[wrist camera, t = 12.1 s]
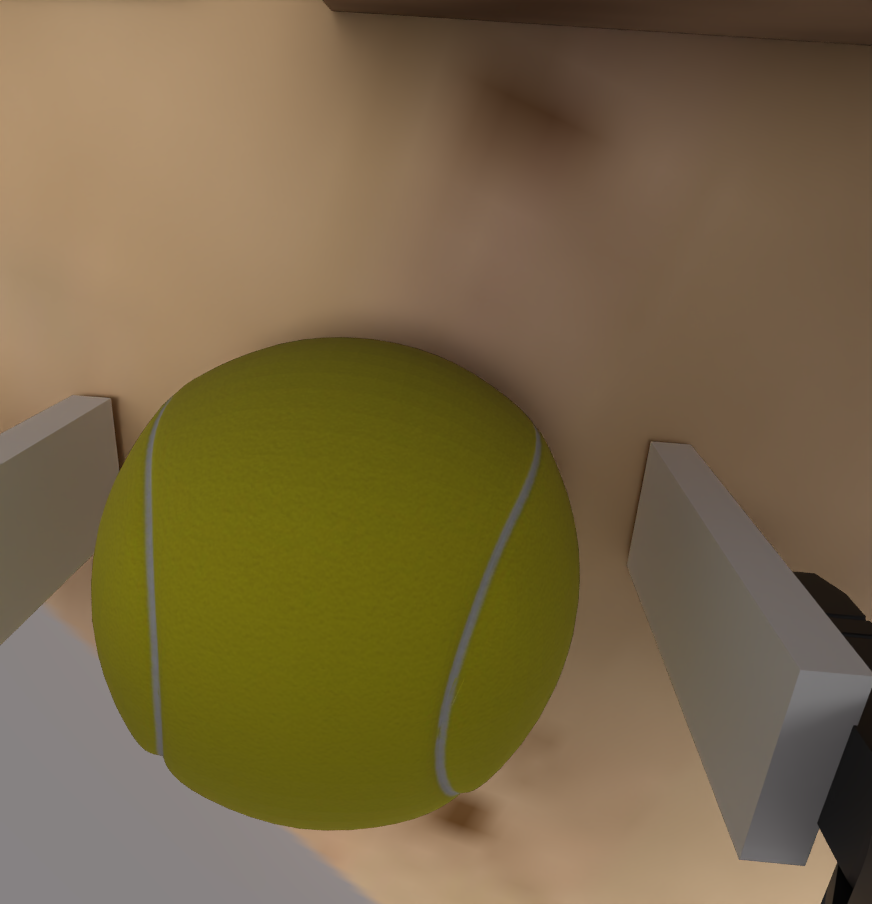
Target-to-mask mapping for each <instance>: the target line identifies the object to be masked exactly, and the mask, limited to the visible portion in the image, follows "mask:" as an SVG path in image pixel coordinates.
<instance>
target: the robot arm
mask: <svg viewBox="0 0 872 904" xmlns="http://www.w3.org/2000/svg"><path fill="white" fill-rule="evenodd" d="M118 473H119V464H118V455H117V446H116V438H115V429H114V420H113V412H112V403H111V398H103V397H91V396H78V395H72V396H70V397H68V398H66V399H64V400H62V401H61V402H59V403H57V404H55V405H53V406H51V407H49V408H48V409H46V410H44V411H42V412H40V413H38V414H36V415H35V416H33V417H31V418H29V419H27V420H25V421H23V422H22V423H20V424H18V425H16V426H14V427H12V428H10V429H8V430H7V431H5V432H3V433H1V434H0V645H1V644H2V643H3V642H4V641H5V640H6V639H7V638H8V637H9V636H10V635H11V634H12V633H13V632H14V631H15V630H16V629H18V627H19V626H21V625H22V624H23V623H24V622H25V620H27V619H28V618H29V617H30V616H31V615H32V614H33V613H34V612H35V611H36V610H37V609H38V608H39V607H40V606H41V605H42V604H43V603H44V602H45V601H46V600H47V599H48V598H49V597H50V596H51V595H52V594H53V593H54V592H55V591H56V590H57V589H58V588H59V587H60V586H61V585H62V584H63V583H64V582H65V581H66V580H68V579H69V578H70V577H71V576H72V575H73V574H74V573H75V572H76V571H77V570H78V569H79V568H80V567H81V566H82V565H83V564H84V563H85V562H86V561H87V560H88V559H89V558H90V557H91V556H92V555H93V554H94V551H95V545H96V539H97V533H98V528H99V524H100V521H101V517H102V514H103V510H104V507H105V504H106V502H107V499H108V496H109V494H110V491H111V489H112V486H113V484H114V482H115V479H116V477H117V475H118ZM627 568H628V570H629V573H630V575H631V578H632V581H633V583H634V586H635V589H636V591H637V594H638V596H639V599H640V602H641V604H642V607H643V609H644V612H645V615H646V617H647V620H648V622H649V625H650V628H651V630H652V633H653V636H654V638H655V641H656V643H657V646H658V649H659V651H660V654H661V656H662V659H663V662H664V664H665V667H666V670H667V672H668V675H669V677H670V680H671V683H672V685H673V688H674V690H675V693H676V696H677V698H678V701H679V704H680V706H681V709H682V711H683V714H684V717H685V719H686V722H687V724H688V727H689V730H690V732H691V735H692V737H693V740H694V743H695V745H696V748H697V751H698V753H699V756H700V758H701V761H702V764H703V766H704V769H705V771H706V774H707V777H708V779H709V782H710V785H711V787H712V790H713V792H714V795H715V798H716V800H717V803H718V805H719V808H720V811H721V813H722V816H723V819H724V821H725V824H726V826H727V829H728V832H729V834H730V837H731V839H732V842H733V845H734V847H735V850H736V852H737V855H738V858H739V860H749V861H759V862H770V863H780V864H790V865H800V866H805V865H806V862H807V859H808V857H809V854H810V851H811V849H812V846H813V843H814V841H815V838H816V835H817V833H818V830H819V828H820V830H821V832H822V834H823V836H824V838H825V839H826V841H827V843H828V845H829V847H830V849H831V851H832V853H833V855H834V857H835V859H836V860H837V865H836V867H835V870H834V872H833V875H832V877H831V880H830V882H829V885H828V887H827V890H826V892H825V895H824V897H823V900H822V902H821V904H872V623H871V622H870V621H866V619H865V618H866V616H865V615H864V614H863V613H862V612H861V611H860V610H859V608H858V607H857V606H856V605H855V604H854V603H853V602H852V600H851V599H850V598H849V597H848V596H847V595H846V594H845V593H844V592H842V591H841V590H839V589H838V588H836V587H835V586H833V585H831V584H830V583H828V582H827V581H825V580H824V579H822V578H821V577H819V576H818V575H816V574H815V573H803V572H792V571H791V570H790V568H789V567H788V566H787V565H786V563H785V562H784V561H783V560H782V558H781V557H780V556H779V555H778V553H777V552H776V551H775V549H774V548H773V547H772V546H771V544H770V543H769V542H768V541H767V539H766V538H765V537H764V536H763V534H762V533H761V532H760V531H759V529H758V528H757V527H756V526H755V524H754V523H753V522H752V521H751V519H750V518H749V517H748V516H747V514H746V513H745V512H744V511H743V509H742V508H741V507H740V506H739V504H738V503H737V502H736V501H735V499H734V498H733V497H732V496H731V494H730V493H729V492H728V490H727V489H726V488H725V487H724V485H723V484H722V483H721V482H720V480H719V479H718V478H717V477H716V475H715V474H714V473H713V472H712V470H711V469H710V468H709V467H708V465H707V464H706V463H705V462H704V460H703V459H702V458H701V457H700V455H699V454H698V453H697V452H696V450H695V449H694V448H693V447H692V445H689V444H677V443H664V442H652V441H651V443H650V448H649V453H648V458H647V464H646V469H645V474H644V479H643V484H642V489H641V495H640V500H639V505H638V510H637V515H636V520H635V526H634V531H633V536H632V541H631V546H630V551H629V557H628V562H627Z"/></svg>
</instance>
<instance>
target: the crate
mask: <svg viewBox="0 0 872 904" xmlns="http://www.w3.org/2000/svg"><path fill="white" fill-rule="evenodd" d="M323 1H324V3H325V4H326V5H327V6H328V7H329V8H330V9H331V11H346V12H361V13H377V14H393V15H408V16H424V17H439V18H455V19H471V20H486V21H502V22H518V23H533V24H549V25H564V26H580V27H596V28H611V29H627V30H643V31H658V32H674V33H690V34H705V35H721V36H736V37H752V38H768V39H783V40H799V41H815V42H830V43H846V44H861V45H872V0H323Z"/></svg>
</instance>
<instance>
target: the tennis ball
mask: <svg viewBox="0 0 872 904" xmlns="http://www.w3.org/2000/svg"><path fill="white" fill-rule="evenodd" d="M579 583H580V573H579V548H578V541H577V535H576V528H575V523H574V517H573V513H572V509H571V506H570V502H569V498H568V495H567V492H566V489H565V486H564V483H563V480H562V477H561V475H560V473H559V470H558V468H557V465H556V463H555V460H554V458H553V456H552V454H551V451H550V449H549V447H548V445H547V443H546V441H545V440H544V438H543V436H542V435H541V433H540V432H539V431H538V429H537V428H536V427H535V426H534V425H533V423H532V422H531V420H530V419H529V418H528V417H527V416H526V414H525V413H524V412H523V411H522V410H521V409H520V408H519V407H518V406H516V405H515V404H514V403H513V402H512V401H511V400H509V399H508V398H507V397H506V396H504V395H503V394H502V393H500V392H499V391H498V390H496V389H495V388H494V387H492V386H491V385H490V384H488V383H487V382H485V381H484V380H482V379H481V378H479V377H478V376H476V375H475V374H473V373H471V372H469V371H468V370H466V369H464V368H462V367H461V366H459V365H457V364H455V363H453V362H450V361H448V360H446V359H444V358H442V357H439V356H437V355H434V354H431V353H428V352H425V351H423V350H420V349H417V348H413V347H409V346H405V345H401V344H397V343H393V342H386V341H380V340H374V339H363V338H349V337H335V338H315V339H305V340H298V341H293V342H288V343H283V344H278V345H275V346H272V347H268V348H265V349H262V350H258V351H255V352H252V353H249V354H247V355H244V356H241V357H239V358H236V359H233V360H231V361H229V362H227V363H225V364H222V365H220V366H218V367H216V368H214V369H212V370H210V371H208V372H207V373H205V374H203V375H201V376H199V377H197V378H195V379H194V380H192V381H191V382H189V383H187V384H186V385H185V386H184V387H182V388H181V389H180V390H179V391H178V392H177V393H176V394H174V395H173V396H172V397H171V398H170V399H169V400H168V401H167V402H166V403H165V404H164V405H162V407H161V408H160V409H159V410H158V411H157V413H156V414H155V415H154V417H153V418H152V419H151V421H150V422H149V423H148V425H147V426H146V428H145V429H144V430H143V432H142V433H141V435H140V436H139V438H138V439H137V441H136V443H135V444H134V446H133V447H132V449H131V451H130V453H129V455H128V456H127V458H126V460H125V462H124V464H123V466H122V468H121V469H120V471H119V473H118V475H117V477H116V479H115V482H114V484H113V486H112V489H111V491H110V494H109V496H108V499H107V502H106V504H105V507H104V510H103V514H102V517H101V521H100V524H99V528H98V533H97V539H96V545H95V551H94V557H93V566H92V579H91V598H92V622H93V628H94V634H95V641H96V646H97V651H98V656H99V660H100V663H101V667H102V670H103V674H104V677H105V680H106V682H107V685H108V687H109V690H110V692H111V695H112V698H113V700H114V702H115V705H116V707H117V709H118V711H119V713H120V714H121V717H122V718H123V720H124V722H125V724H126V726H127V728H128V729H129V731H130V732H131V734H132V735H133V737H134V738H135V740H136V741H137V742H138V744H139V745H140V746H141V747H142V748H143V749H145V750H146V751H148V752H150V753H152V754H156V755H160V756H163V758H164V760H165V763H166V765H167V767H168V769H169V770H170V771H171V773H172V774H173V775H174V776H175V777H176V778H177V779H178V780H179V781H180V782H181V783H183V784H184V785H186V786H187V787H188V788H190V789H191V790H193V791H194V792H196V793H198V794H200V795H201V796H203V797H205V798H207V799H209V800H211V801H213V802H215V803H218V804H220V805H222V806H224V807H226V808H228V809H231V810H233V811H236V812H239V813H241V814H244V815H247V816H250V817H253V818H256V819H259V820H263V821H266V822H270V823H273V824H278V825H283V826H289V827H294V828H299V829H313V830H355V829H365V828H374V827H380V826H386V825H391V824H397V823H400V822H404V821H408V820H412V819H415V818H418V817H420V816H423V815H426V814H428V813H430V812H432V811H434V810H437V809H439V808H440V807H442V806H444V805H445V804H447V803H449V802H450V801H452V800H453V799H454V798H456V797H457V796H458V795H459V794H460V793H466V792H470V791H473V790H475V789H477V788H478V787H480V786H481V785H483V784H484V783H485V782H487V781H488V780H489V779H490V778H491V777H492V776H493V775H494V774H495V773H496V772H497V771H498V770H499V769H500V768H501V767H502V766H503V765H504V764H505V763H506V762H507V760H508V759H509V758H510V757H511V756H512V755H513V753H514V752H515V751H516V750H517V749H518V748H519V746H520V745H521V744H522V742H523V741H524V740H525V738H526V737H527V735H528V734H529V732H530V731H531V729H532V728H533V726H534V725H535V723H536V722H537V720H538V719H539V717H540V715H541V714H542V712H543V710H544V708H545V706H546V704H547V702H548V700H549V698H550V696H551V694H552V693H553V691H554V689H555V687H556V684H557V682H558V679H559V677H560V674H561V672H562V669H563V666H564V663H565V660H566V657H567V654H568V651H569V647H570V644H571V640H572V636H573V631H574V625H575V619H576V613H577V607H578V599H579Z"/></svg>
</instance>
